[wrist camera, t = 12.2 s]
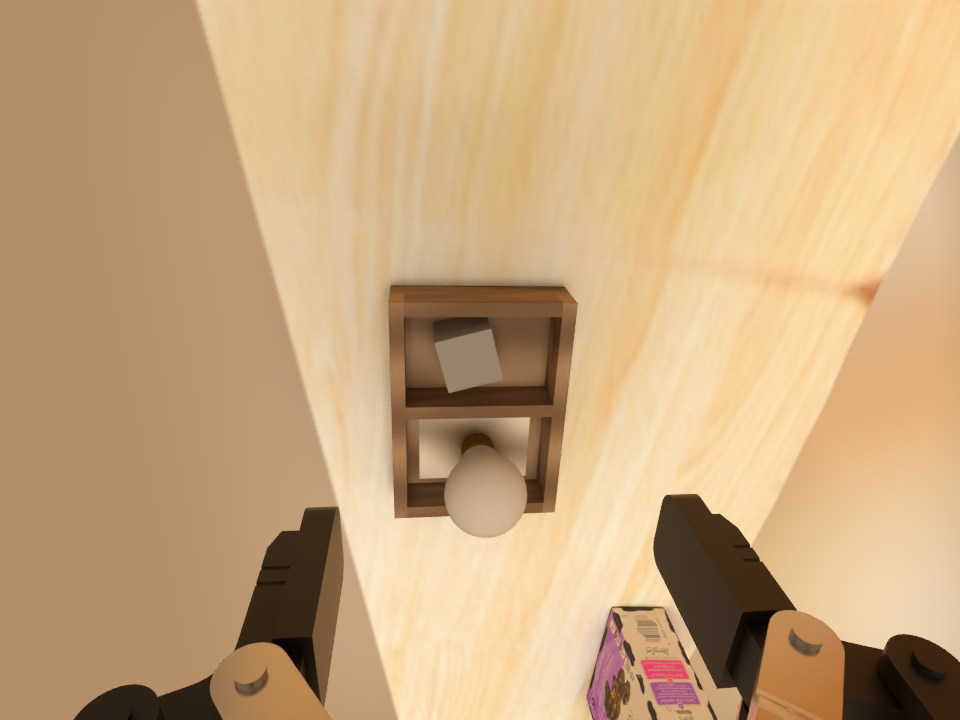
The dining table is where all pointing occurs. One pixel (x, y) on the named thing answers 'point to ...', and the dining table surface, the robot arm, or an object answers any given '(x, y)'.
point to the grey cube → (466, 352)
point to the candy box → (645, 671)
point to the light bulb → (484, 490)
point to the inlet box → (479, 390)
